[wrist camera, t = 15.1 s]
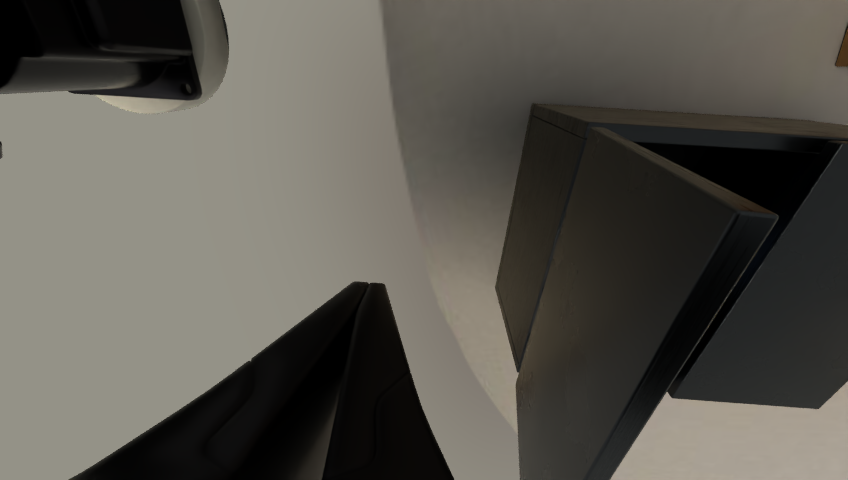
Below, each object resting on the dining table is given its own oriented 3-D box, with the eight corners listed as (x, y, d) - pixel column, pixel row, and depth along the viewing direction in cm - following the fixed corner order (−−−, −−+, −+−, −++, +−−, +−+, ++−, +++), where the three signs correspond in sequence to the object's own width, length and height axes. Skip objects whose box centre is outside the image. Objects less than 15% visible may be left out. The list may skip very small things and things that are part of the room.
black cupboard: (495, 287, 20) (520, 388, 14) (531, 103, 15) (601, 125, 9) (697, 302, 20) (820, 410, 14) (806, 120, 15) (1086, 155, 8)
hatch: (524, 385, 14) (515, 384, 14) (605, 127, 9) (590, 126, 9) (539, 590, 8) (524, 584, 8) (783, 215, 3) (739, 210, 3)
